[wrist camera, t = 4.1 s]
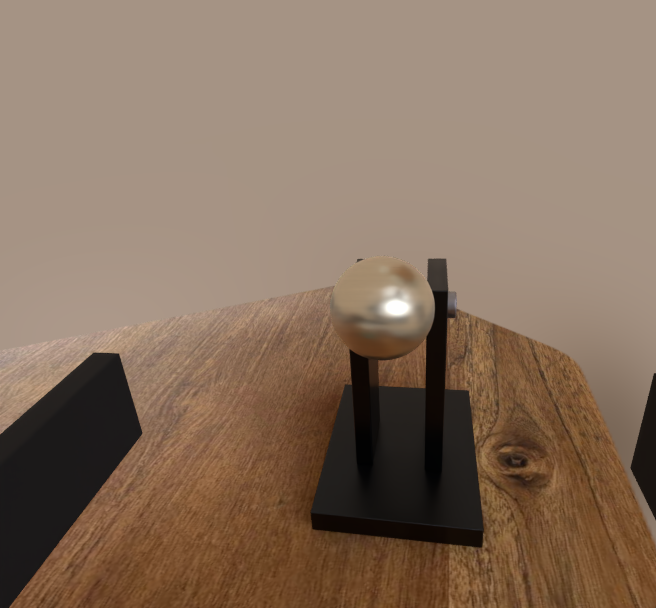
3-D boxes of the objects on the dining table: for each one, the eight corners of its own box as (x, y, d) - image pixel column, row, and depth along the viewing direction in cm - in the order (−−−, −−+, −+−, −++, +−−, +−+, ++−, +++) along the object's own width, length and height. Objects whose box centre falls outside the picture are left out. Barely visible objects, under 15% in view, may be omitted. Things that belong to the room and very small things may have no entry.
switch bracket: (482, 548, 26) (501, 330, 20) (312, 529, 27) (287, 324, 22) (467, 404, 36) (478, 236, 31) (345, 398, 38) (334, 237, 32)
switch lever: (434, 369, 15) (436, 251, 15) (318, 364, 16) (320, 251, 16) (432, 335, 28) (432, 272, 28) (368, 334, 29) (369, 271, 29)
